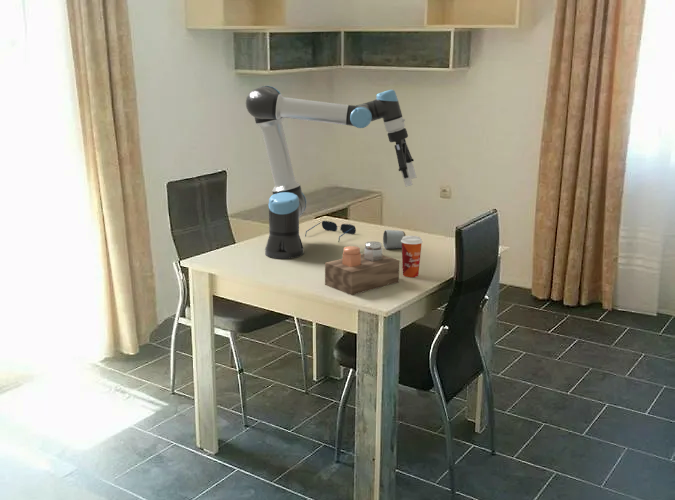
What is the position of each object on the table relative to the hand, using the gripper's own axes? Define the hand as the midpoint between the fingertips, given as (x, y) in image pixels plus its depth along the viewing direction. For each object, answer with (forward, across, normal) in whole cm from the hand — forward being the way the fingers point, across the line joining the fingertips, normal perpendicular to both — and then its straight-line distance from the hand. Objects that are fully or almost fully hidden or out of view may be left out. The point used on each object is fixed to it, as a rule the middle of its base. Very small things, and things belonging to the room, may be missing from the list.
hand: (411, 182), depth 304 cm
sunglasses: (+17, +13, +42) cm, 47 cm away
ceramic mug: (+25, +1, +15) cm, 29 cm away
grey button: (+17, -44, +13) cm, 49 cm away
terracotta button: (+15, -52, +19) cm, 57 cm away
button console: (+22, -48, +18) cm, 56 cm away
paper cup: (+27, -35, +4) cm, 44 cm away
